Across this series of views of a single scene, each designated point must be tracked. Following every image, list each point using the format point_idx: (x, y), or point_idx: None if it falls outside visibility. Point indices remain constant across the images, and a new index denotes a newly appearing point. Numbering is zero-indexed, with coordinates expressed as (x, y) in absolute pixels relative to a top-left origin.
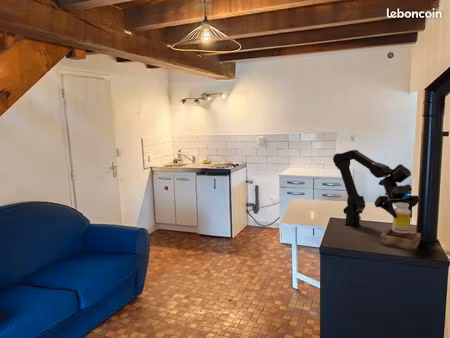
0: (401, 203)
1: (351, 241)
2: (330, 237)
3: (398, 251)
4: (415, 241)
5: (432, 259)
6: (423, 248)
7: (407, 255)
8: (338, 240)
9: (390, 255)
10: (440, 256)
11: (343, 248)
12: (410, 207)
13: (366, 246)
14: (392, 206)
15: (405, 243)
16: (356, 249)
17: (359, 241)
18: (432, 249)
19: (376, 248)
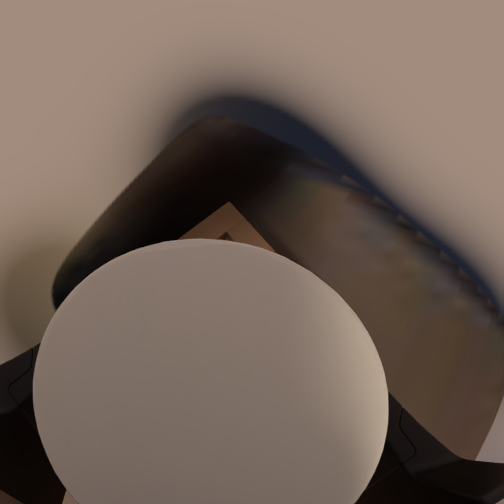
0: (292, 414)
1: (441, 404)
2: (473, 449)
3: (325, 235)
4: (232, 205)
5: (243, 126)
6: (161, 238)
7: (316, 183)
8: (471, 414)
9: (383, 205)
10: (181, 140)
11: (490, 318)
12: (21, 377)
13: (423, 330)
14: (408, 457)
15: None
16: (464, 300)
17: (414, 404)
18: (131, 215)
19: (398, 296)
